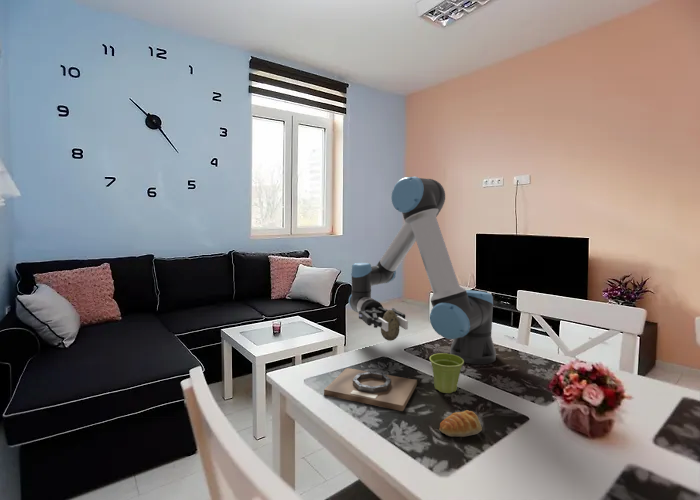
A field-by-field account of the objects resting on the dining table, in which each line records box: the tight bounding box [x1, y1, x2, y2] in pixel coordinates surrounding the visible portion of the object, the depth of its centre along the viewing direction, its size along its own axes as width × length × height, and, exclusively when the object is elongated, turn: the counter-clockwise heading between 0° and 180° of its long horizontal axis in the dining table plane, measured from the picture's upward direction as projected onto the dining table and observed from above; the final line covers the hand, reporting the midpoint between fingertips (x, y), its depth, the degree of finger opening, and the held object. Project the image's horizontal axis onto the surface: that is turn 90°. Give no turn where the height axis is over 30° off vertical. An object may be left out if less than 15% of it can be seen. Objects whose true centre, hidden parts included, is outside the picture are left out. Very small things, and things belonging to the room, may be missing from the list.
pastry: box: [438, 409, 483, 438], centre depth 89 cm, size 9×7×4 cm
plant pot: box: [429, 352, 465, 394], centre depth 109 cm, size 9×9×9 cm
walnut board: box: [323, 367, 418, 412], centre depth 108 cm, size 22×16×2 cm
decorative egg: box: [380, 309, 400, 342], centre depth 124 cm, size 6×6×10 cm
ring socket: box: [353, 371, 391, 394], centre depth 108 cm, size 10×10×2 cm
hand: (396, 326), depth 119 cm, fingers closed on decorative egg, 6 cm apart
